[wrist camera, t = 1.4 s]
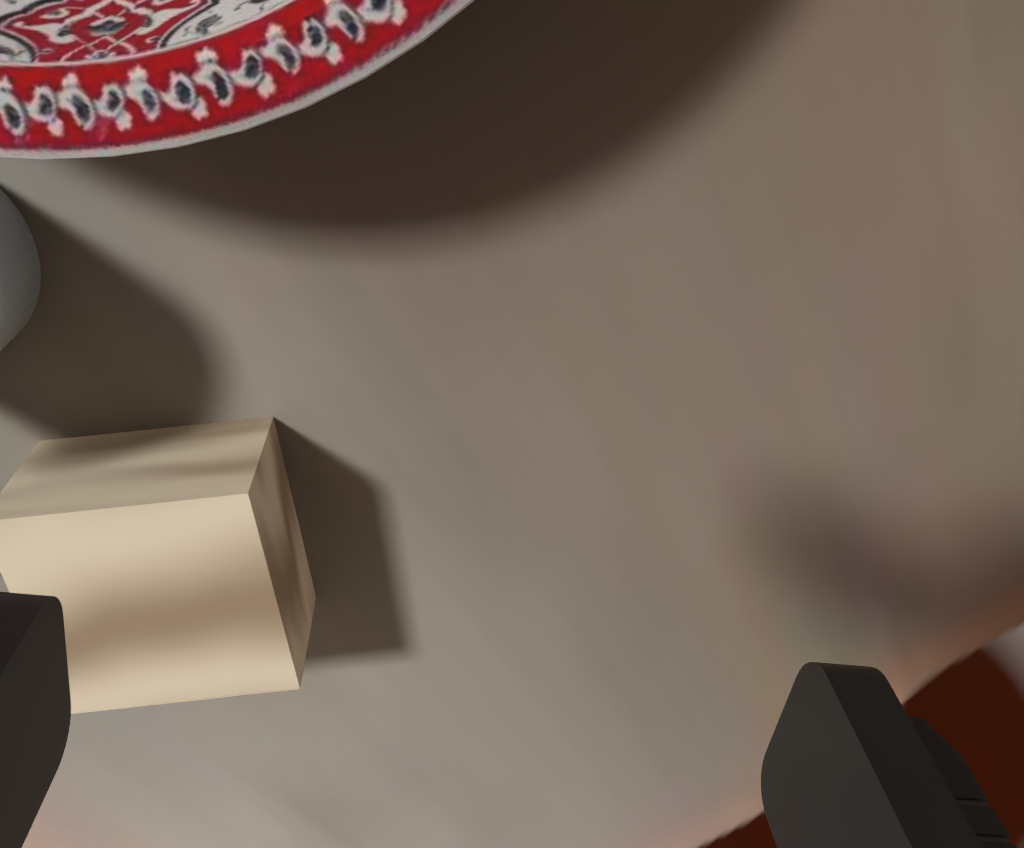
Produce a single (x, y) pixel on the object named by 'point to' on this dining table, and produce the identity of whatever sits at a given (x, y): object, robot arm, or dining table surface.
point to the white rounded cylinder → (16, 271)
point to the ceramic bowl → (185, 66)
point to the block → (164, 561)
